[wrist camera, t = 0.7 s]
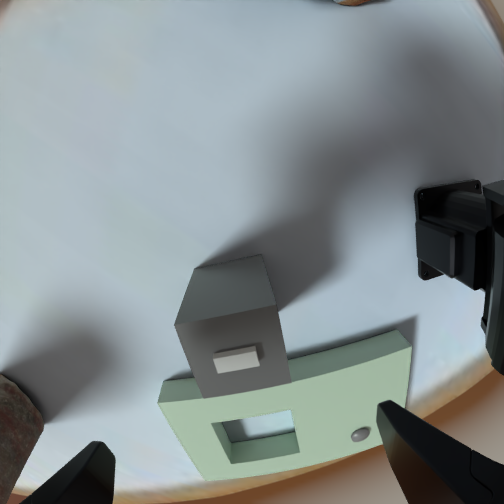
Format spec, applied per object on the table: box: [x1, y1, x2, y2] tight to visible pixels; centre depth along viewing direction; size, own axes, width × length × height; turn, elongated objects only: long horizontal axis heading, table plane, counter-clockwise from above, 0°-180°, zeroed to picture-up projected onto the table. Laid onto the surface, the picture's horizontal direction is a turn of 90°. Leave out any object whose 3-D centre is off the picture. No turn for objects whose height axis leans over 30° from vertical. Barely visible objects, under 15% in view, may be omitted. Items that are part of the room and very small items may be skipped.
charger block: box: [174, 254, 292, 399], centre depth 16 cm, size 4×4×7 cm
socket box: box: [157, 329, 412, 481], centre depth 21 cm, size 18×11×3 cm, turn 102°
